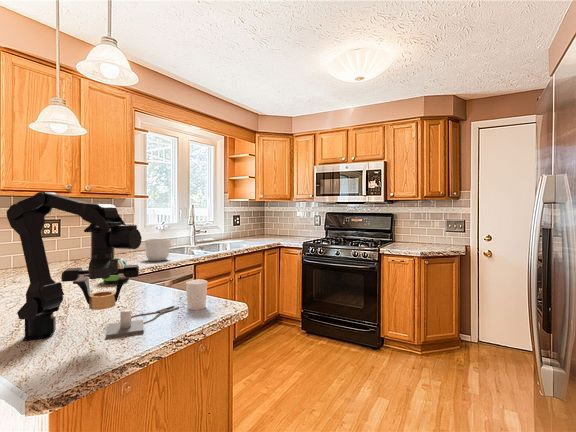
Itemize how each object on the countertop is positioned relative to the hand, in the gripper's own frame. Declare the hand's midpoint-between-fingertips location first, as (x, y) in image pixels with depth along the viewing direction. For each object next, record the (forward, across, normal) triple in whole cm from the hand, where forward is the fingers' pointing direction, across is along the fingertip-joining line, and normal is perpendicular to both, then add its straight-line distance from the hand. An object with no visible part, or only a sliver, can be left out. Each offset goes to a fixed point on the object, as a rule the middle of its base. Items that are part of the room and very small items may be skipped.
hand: (102, 302), depth 92 cm
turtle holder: (+11, -4, +82) cm, 83 cm away
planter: (+11, +18, +146) cm, 148 cm away
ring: (+1, 0, 0) cm, 1 cm away
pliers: (+12, +13, +20) cm, 27 cm away
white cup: (+11, +29, +22) cm, 38 cm away
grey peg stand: (+11, +6, +7) cm, 14 cm away
